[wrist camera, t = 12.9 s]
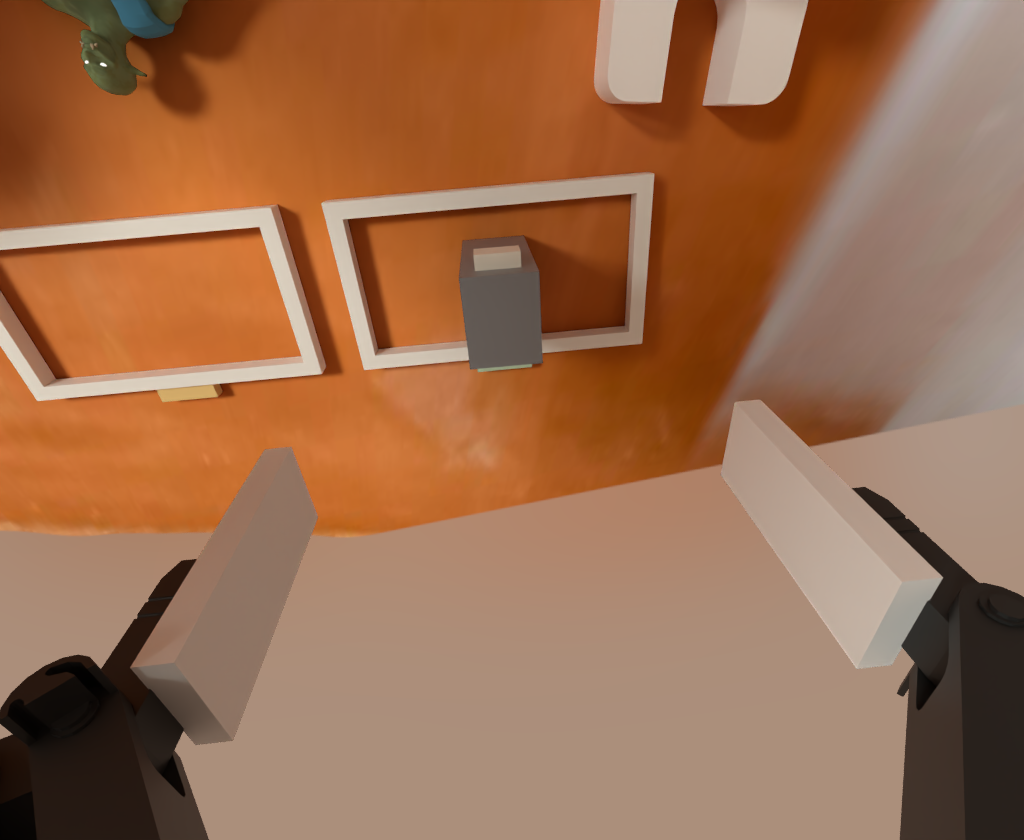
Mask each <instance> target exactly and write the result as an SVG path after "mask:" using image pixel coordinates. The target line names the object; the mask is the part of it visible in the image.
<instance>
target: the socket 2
mask: <svg viewBox="0 0 1024 840" xmlns="http://www.w3.org/2000/svg"><path fill="white" fill-rule="evenodd" d="M653 187H654V173H651V172H641V173H630V174H618V175H607V176H596V177H584V178H573V179H562V180H550V181H539V182H528V183H517V184H505V185H494V186H483V187H471V188H460V189H449V190H437V191H426V192H415V193H404V194H392V195H381V196H370V197H358V198H347V199H336V200H326V201H324V202H322V203H321V204H322V208H323V212H324V216H325V219H326V223H327V227H328V231H329V235H330V239H331V243H332V247H333V251H334V254H335V258H336V262H337V266H338V270H339V274H340V278H341V282H342V286H343V289H344V293H345V297H346V301H347V305H348V309H349V313H350V317H351V321H352V324H353V328H354V332H355V336H356V340H357V344H358V348H359V352H360V356H361V359H362V363H363V367H364V370H370V369H380V368H391V367H401V366H412V365H422V364H433V363H443V362H454V361H465V360H469V356H468V348H467V341H458V342H447V343H437V344H426V345H415V346H405V347H394V348H384V349H378V347H377V342H376V338H375V334H374V330H373V325H372V321H371V317H370V313H369V308H368V304H367V300H366V296H365V291H364V287H363V283H362V279H361V274H360V270H359V266H358V262H357V257H356V253H355V249H354V245H353V240H352V236H351V232H350V227H349V223H348V219H354V218H365V217H376V216H387V215H398V214H410V213H421V212H432V211H443V210H454V209H466V208H477V207H488V206H499V205H511V204H522V203H533V202H544V201H555V200H567V199H578V198H589V197H600V196H611V195H623V194H631V212H630V232H629V252H628V271H627V291H626V311H625V326H618V327H607V328H596V329H586V330H575V331H564V332H554V333H543V334H542V353H549V352H560V351H570V350H581V349H591V348H602V347H612V346H623V345H633V344H642V340H643V326H644V312H645V298H646V284H647V270H648V256H649V242H650V229H651V215H652V201H653ZM526 367H532V364H526V365H515V366H504V367H493V368H481V369H478V372H484V371H494V370H505V369H515V368H526Z"/></svg>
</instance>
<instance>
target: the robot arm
mask: <svg viewBox="0 0 1024 840" xmlns="http://www.w3.org/2000/svg"><path fill="white" fill-rule="evenodd" d="M721 476H722V478H723V479H724V480H725V482H726V483H727V485H728V486H729V487H730V489H731V490H732V492H733V493H734V494H735V496H736V497H737V499H738V500H739V502H740V503H741V505H742V506H743V507H744V509H745V510H746V512H747V513H748V515H749V516H750V518H751V519H752V520H753V522H754V523H755V525H756V526H757V527H758V529H759V530H760V532H761V533H762V535H763V536H764V537H765V539H766V540H767V542H768V543H769V545H770V546H771V547H772V549H773V550H774V552H775V553H776V554H777V556H778V557H779V559H780V560H781V562H782V563H783V565H784V566H785V567H786V569H787V570H788V572H789V573H790V575H791V576H792V577H793V579H794V580H795V582H796V583H797V585H798V586H799V587H800V589H801V590H802V592H803V593H804V594H805V596H806V597H807V599H808V600H809V602H810V603H811V604H812V606H813V607H814V609H815V610H816V612H817V613H818V614H819V616H820V617H821V619H822V620H823V622H824V623H825V624H826V626H827V627H828V629H829V630H830V632H831V633H832V634H833V636H834V637H835V639H836V640H837V641H838V643H839V644H840V646H841V647H842V648H843V650H844V651H845V653H846V654H847V656H848V657H849V659H850V660H851V662H852V663H853V664H854V666H855V667H856V669H860V668H869V667H878V666H886V665H892V664H893V662H894V660H895V659H896V657H897V655H898V654H899V652H900V650H901V648H902V647H903V649H904V650H905V651H906V652H907V654H908V655H909V656H910V657H911V659H912V660H913V661H914V662H915V663H914V665H913V666H912V668H911V669H910V671H909V673H908V674H907V676H906V678H905V679H904V681H903V682H902V684H901V685H900V688H899V690H898V692H897V694H899V695H901V696H904V695H905V693H906V692H907V690H908V689H909V694H908V711H907V728H906V745H905V762H904V780H903V796H902V813H901V831H900V840H1024V597H1023V596H1021V595H1019V594H1017V593H1015V592H1012V591H1010V590H1008V589H1005V588H1003V587H999V586H995V585H991V584H987V583H979V582H977V581H976V580H975V579H974V578H973V577H972V576H971V575H969V574H968V573H967V572H966V571H965V570H964V569H963V568H962V567H961V566H959V564H957V563H956V562H955V561H954V560H953V559H952V558H951V557H950V556H949V555H948V554H946V553H945V552H944V551H943V550H942V549H941V548H940V547H939V546H938V545H937V544H936V543H934V542H933V541H932V540H931V539H930V538H929V537H928V536H927V535H926V534H925V533H924V532H920V531H919V528H918V527H917V526H916V525H915V524H914V523H913V522H912V521H910V520H909V519H906V518H905V515H904V514H903V513H901V511H899V510H898V509H897V508H896V507H895V506H894V505H893V504H892V503H891V502H890V501H889V500H887V499H885V498H884V497H882V496H880V495H878V494H876V493H875V492H873V491H871V490H869V489H867V488H866V487H860V488H851V487H850V486H848V484H847V483H845V482H844V481H843V480H842V479H841V478H840V477H839V476H838V475H837V474H836V473H835V472H834V471H833V470H832V469H831V468H830V467H829V466H828V465H827V464H826V463H825V462H824V461H823V460H822V459H821V458H820V457H819V456H818V455H817V454H816V453H815V452H814V451H813V450H812V449H811V448H809V447H808V446H807V445H806V444H805V443H804V442H803V441H802V440H801V439H800V438H799V437H798V436H797V435H796V434H795V433H794V432H793V431H792V430H791V429H790V428H789V427H788V426H787V425H786V424H785V423H784V422H783V421H782V420H781V419H780V418H779V417H778V416H777V415H776V414H775V413H773V412H772V411H771V410H770V409H769V408H768V407H767V406H766V405H765V404H764V403H763V402H762V401H761V400H750V401H740V402H735V403H734V409H733V414H732V419H731V424H730V429H729V434H728V439H727V444H726V449H725V455H724V460H723V465H722V470H721ZM317 518H318V516H317V513H316V510H315V508H314V505H313V502H312V500H311V497H310V495H309V492H308V489H307V487H306V484H305V482H304V479H303V476H302V474H301V471H300V469H299V466H298V463H297V461H296V458H295V455H294V453H293V450H292V448H291V447H285V448H275V449H265V450H264V452H263V453H262V455H261V456H260V458H259V460H258V461H257V463H256V464H255V466H254V468H253V469H252V471H251V473H250V474H249V476H248V477H247V479H246V481H245V482H244V484H243V486H242V487H241V489H240V490H239V492H238V494H237V495H236V497H235V499H234V500H233V502H232V503H231V505H230V507H229V508H228V510H227V511H226V513H225V515H224V516H223V518H222V520H221V521H220V523H219V524H218V526H217V528H216V529H215V531H214V533H213V534H212V536H211V538H210V539H209V541H208V542H207V544H206V546H205V547H204V549H203V550H202V552H201V554H200V555H199V557H198V559H194V560H183V561H181V562H180V563H178V564H177V565H176V566H175V567H174V568H173V569H172V570H171V571H170V572H168V573H167V574H166V575H165V576H164V577H163V578H162V579H161V580H160V582H159V583H158V585H157V586H156V588H155V589H154V591H153V592H152V594H151V595H150V597H149V598H148V599H149V601H148V602H146V603H145V604H144V606H143V607H142V609H141V610H140V612H139V613H138V618H137V619H134V621H133V622H132V624H131V625H130V627H129V628H128V630H127V631H126V633H125V634H124V636H123V637H122V639H121V640H120V642H119V643H118V645H117V646H116V648H115V649H114V651H113V652H112V654H111V655H110V657H109V658H108V660H107V661H106V663H105V664H104V666H103V667H102V669H100V668H99V667H98V666H97V664H96V663H95V662H94V661H93V660H92V659H91V658H90V657H88V656H82V655H74V656H69V657H65V658H62V659H59V660H57V661H55V662H52V663H51V664H48V665H46V666H44V667H42V668H41V669H39V670H38V671H36V672H35V673H34V674H32V675H31V676H29V677H28V678H26V679H25V680H24V681H23V682H22V683H21V684H20V685H19V686H18V687H17V688H16V689H15V690H14V691H13V692H12V693H11V694H10V695H9V697H8V698H7V700H6V701H5V703H4V704H3V706H2V707H1V710H0V724H1V725H2V726H4V727H5V728H6V729H7V730H9V731H10V732H11V733H12V734H13V735H10V736H8V737H5V738H3V739H0V840H209V839H208V836H207V833H206V830H205V827H204V825H203V822H202V819H201V816H200V813H199V810H198V807H197V804H196V802H195V799H194V796H193V793H192V790H191V788H190V784H189V782H188V779H187V776H186V773H185V771H184V767H183V764H182V762H181V759H180V757H179V756H178V755H177V753H176V752H175V751H174V750H175V748H176V745H177V743H178V741H179V739H180V737H181V734H182V733H183V731H184V732H185V733H186V734H187V736H188V737H189V738H190V739H191V740H192V741H193V742H194V744H195V745H200V744H208V743H217V742H226V741H233V740H234V737H235V734H236V732H237V729H238V726H239V724H240V721H241V718H242V716H243V713H244V711H245V708H246V705H247V702H248V700H249V697H250V695H251V692H252V690H253V687H254V684H255V682H256V679H257V676H258V674H259V671H260V668H261V666H262V663H263V661H264V658H265V655H266V653H267V650H268V647H269V645H270V642H271V639H272V637H273V634H274V632H275V629H276V626H277V623H278V621H279V618H280V615H281V613H282V610H283V608H284V605H285V603H286V600H287V597H288V595H289V592H290V589H291V587H292V584H293V581H294V579H295V576H296V573H297V571H298V568H299V566H300V563H301V560H302V558H303V555H304V553H305V550H306V547H307V544H308V542H309V539H310V537H311V534H312V531H313V529H314V526H315V524H316V521H317Z"/></svg>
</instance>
